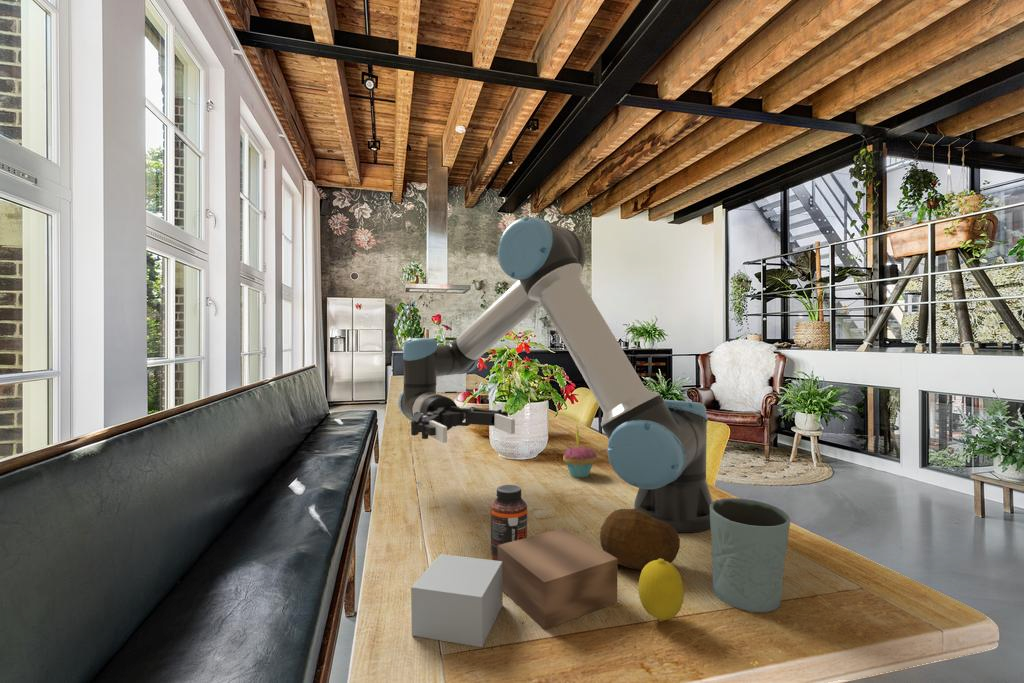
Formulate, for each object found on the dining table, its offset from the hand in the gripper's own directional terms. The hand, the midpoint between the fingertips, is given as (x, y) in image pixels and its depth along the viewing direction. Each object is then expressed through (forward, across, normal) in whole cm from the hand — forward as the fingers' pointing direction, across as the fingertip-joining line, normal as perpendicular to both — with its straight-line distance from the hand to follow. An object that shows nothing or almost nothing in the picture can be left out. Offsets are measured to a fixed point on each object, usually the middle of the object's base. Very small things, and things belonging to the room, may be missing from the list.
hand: (480, 430), depth 88 cm
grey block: (+22, +14, -19) cm, 32 cm away
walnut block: (+23, 0, -19) cm, 30 cm away
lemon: (+35, -8, -19) cm, 41 cm away
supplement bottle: (+10, 0, -19) cm, 22 cm away
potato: (+23, -16, -19) cm, 34 cm away
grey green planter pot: (+37, -23, -19) cm, 47 cm away
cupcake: (-19, -38, -19) cm, 46 cm away
